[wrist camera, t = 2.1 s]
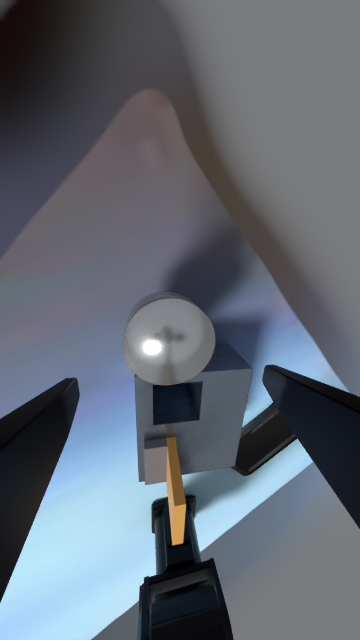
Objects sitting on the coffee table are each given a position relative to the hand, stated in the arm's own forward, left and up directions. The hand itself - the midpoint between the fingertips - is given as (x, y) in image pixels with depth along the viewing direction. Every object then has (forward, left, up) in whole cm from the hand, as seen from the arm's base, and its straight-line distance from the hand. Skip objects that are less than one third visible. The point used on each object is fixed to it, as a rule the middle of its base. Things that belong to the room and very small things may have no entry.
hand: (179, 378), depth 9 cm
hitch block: (-9, -3, -10) cm, 14 cm away
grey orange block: (-12, -1, -5) cm, 14 cm away
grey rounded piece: (0, 0, -10) cm, 10 cm away
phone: (-17, -16, -11) cm, 26 cm away
